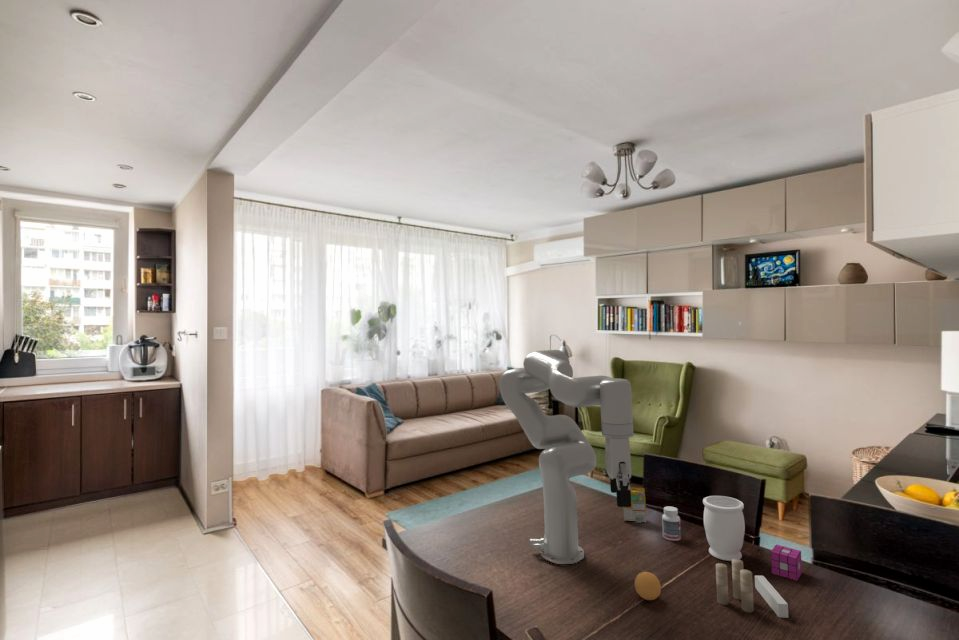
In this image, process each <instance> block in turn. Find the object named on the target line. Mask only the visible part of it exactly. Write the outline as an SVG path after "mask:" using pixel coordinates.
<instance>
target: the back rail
mask: <svg viewBox="0 0 959 640" xmlns="http://www.w3.org/2000/svg"><path fill="white" fill-rule="evenodd" d="M754 589H756V590H757V592H758V593H759V594H760V595H761V597H762V599H764V601H765V602H766V603H767V604H768V605H769V607H770V608H771V610H772V611H774V613H775V615H776V616H777V618H786V619H787V618H788V619H789V604H788V602H787V601H786V600H785V599H784V598H783V597H782V596H781V594H780V593H779V592H778V591H777V590H776V589H775V588H774V586H773V585H772V584H771V583H770V582H769V581H768V580H767V578H766V577H765V576H764V575H754Z"/></svg>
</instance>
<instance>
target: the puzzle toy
mask: <svg viewBox="0 0 959 640" xmlns="http://www.w3.org/2000/svg"><path fill="white" fill-rule="evenodd" d="M770 563H771V565H770V566H771V570H770V571H771V574H773V575H774V576H775V575H776V576H779V577H782V576H783V577H782V578H785V577H787V578H786V579H789V578H790V579H789V580H792V579H793V581H795V580H796V582H798V581H797V580H799V578H800V577H801V575H802V573H803V569H802V568H803V567H802V550H799V549H795V548H792V547H787V546H783V545H780V544H775V545H774V547H773V548H772V549H771V551H770Z"/></svg>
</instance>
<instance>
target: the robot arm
mask: <svg viewBox="0 0 959 640" xmlns="http://www.w3.org/2000/svg"><path fill="white" fill-rule="evenodd" d="M498 385H499V387H498V388H499V392H500V395H501V398H502V401H503V402H504V404H505V406H506V408H508V409H509V411H510V412H511V413H512V414H513V415H514V417H515V418H516V420H517V421H518V423H519V425H520V427H521V429H522V430H523V432H524V434H525V436H526V437H527V439H528V441H529V442H530V444H531V445H532V446H533V447H534V448H535V449H538V450H542V451H541V453H540V454H539V456H538V467H539V471H540V472H539V473H540V475H541V481H542V491H543V494H542V495H543V517H544V520H543V521H544V523H543V524H544V534H543V537H540V538H529V546H533V549H534V550H537V549H538V550H540V551H539V553H541V555H542V556H543V557H545V558H546V559H548V560H550V561H553V562H557V563H562V564H571V563H576V562H579V561H580V560H582V559H583V560H584V558H585V551H584V549H583V548H582V547H581V546H579V530H578V527H579V526H578V523H579V522H578V505H577V504H578V501H577V493H576V490H575V488H574V486H573V484H572V483H571V482H570V479H571V478H574V477H577V476H582V475H583V476H584V475H587V474H590V473H591V472H593V471H594V470H595V469H596V467H597V456H596V455H597V454H596V453H595V450H594V448H593V446H592V445H591V443H590V442H589V440H588V439H587V437H586V436H585V434H584V432H583V431H582V430H581V429H580V427H579V425H578V424H577V422H576V421H575V420H574V419H573V418H572V417H570V416H568V415H565V414H555V415H547V413H546V412H545V411H544V410H543V408H542V407H541V405H540V404H539V403H538V402H537V401H536V400H535V399H533V398H532V397H530V396H528V395H527V394H535V393H541V392H546V391H548V390H550V391H549V392H550V393H551V395H552V396H553V397H554V399H555V400H557V401H558V402H561V403H562V404H565V405H567V406H569V407H572V408H583V407H591V406H592V407H593V406H600V420H601V425H600V427H601V435H602V436H603V437H604V439H605V441H604V442H605V443H604V444H605V445H604V449H605V450H604V453H605V459H604V460H605V463H604V464H605V467H604V468H605V471H606V473H607V475H608V477H609V482H610V483H609V484H610V492H611V493H613V494H614V493H615V494H616V506H617V507H618V508H623V507H631V491H632V489H630V488H631V484H630V479H631V478H632V461H631V460H632V459H631V444H630V442H631V441H630V438H632V437H634V418H633V417H634V416H633V401H632V400H633V398H632V396H633V395H632V384H631V382H630V380H628V379H626V378H617V377H616V378H615V377H614V378H613V377H611V376H607V375H591V376H580V377H574V370H573V367H572V365H571V364H570V359H569V356H568V355H567V354H566V353H565V352H564V351H562V350H561V349H560V350H558V349H549V350H548V349H547V350H546V349H544V350H536V351H532V352H530V353H528V354H527V355H526V356H525V358H524V359H523V367H518V368H517V367H516V368H512V369H508V370H506V371H503V373H502V374H501V375H500V378H499V383H498ZM542 550H544V551H542ZM541 555H540V556H541ZM583 560H582V561H583ZM580 562H581V561H580ZM580 562H579V563H580ZM576 564H577V563H576Z"/></svg>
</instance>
